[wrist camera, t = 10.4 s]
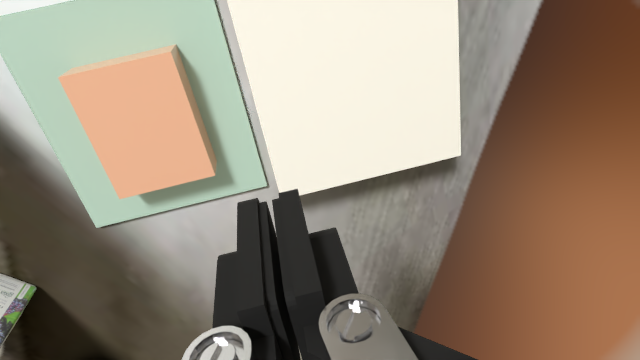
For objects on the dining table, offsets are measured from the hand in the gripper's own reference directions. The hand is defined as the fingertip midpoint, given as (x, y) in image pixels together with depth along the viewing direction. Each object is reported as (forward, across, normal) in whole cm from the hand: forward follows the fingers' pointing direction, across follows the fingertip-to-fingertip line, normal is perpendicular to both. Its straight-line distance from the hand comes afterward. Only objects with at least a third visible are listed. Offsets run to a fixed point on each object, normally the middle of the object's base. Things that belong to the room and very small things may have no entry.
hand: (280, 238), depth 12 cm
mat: (+21, +9, +2) cm, 23 cm away
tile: (+18, +8, +2) cm, 20 cm away
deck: (+21, -6, +2) cm, 22 cm away
